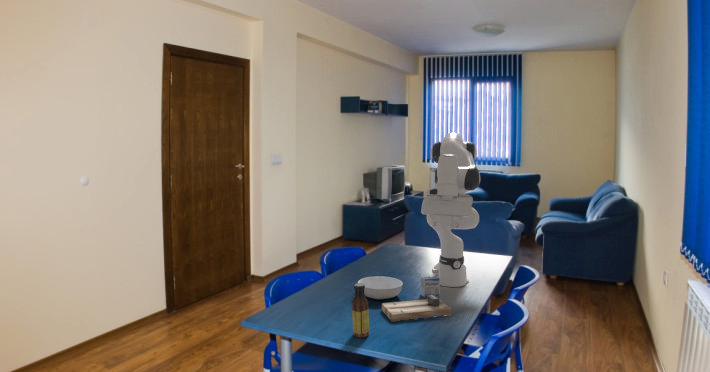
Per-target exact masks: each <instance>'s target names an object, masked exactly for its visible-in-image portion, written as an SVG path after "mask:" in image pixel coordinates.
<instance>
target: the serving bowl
mask: <svg viewBox="0 0 710 372" xmlns="http://www.w3.org/2000/svg"><path fill="white" fill-rule="evenodd" d="M357 283H362V284H364V285H365V288H364V294H365V297H366V298H371V299H374V300H386V299H391V298H394V297H396V296H398V295H399V294H400V293H401V291H402V289H403V285H404V282H403V281H402V280H400V279H398V278H395V277H391V276H383V275H382V276H381V275H380V276H379V275H377V276H367V277H362V278H361V279H359V280H358V281H357Z"/></svg>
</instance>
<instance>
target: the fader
mask: <svg viewBox="0 0 710 372" xmlns="http://www.w3.org/2000/svg"><path fill="white" fill-rule="evenodd" d="M426 299H427V302H428V303H429V304H431V305H432V306H439V304H440V301H441V299H440V298H439V296H435V295H427V297H426Z"/></svg>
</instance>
